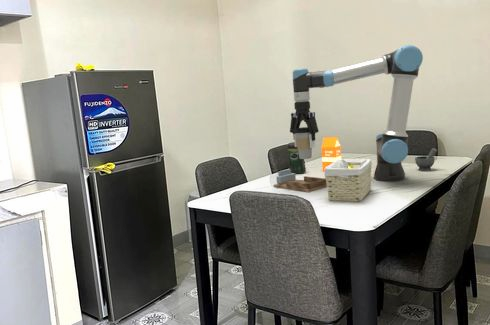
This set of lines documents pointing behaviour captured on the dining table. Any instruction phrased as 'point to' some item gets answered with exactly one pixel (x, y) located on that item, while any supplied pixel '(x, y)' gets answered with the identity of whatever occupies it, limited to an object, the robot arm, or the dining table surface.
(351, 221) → the dining table surface
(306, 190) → the housing base
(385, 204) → the dining table surface
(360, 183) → the storage basket
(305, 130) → the coffee cup
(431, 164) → the mortar and pestle
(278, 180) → the block
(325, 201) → the dining table surface
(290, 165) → the coffee jar
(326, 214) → the dining table surface
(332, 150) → the orange juice
